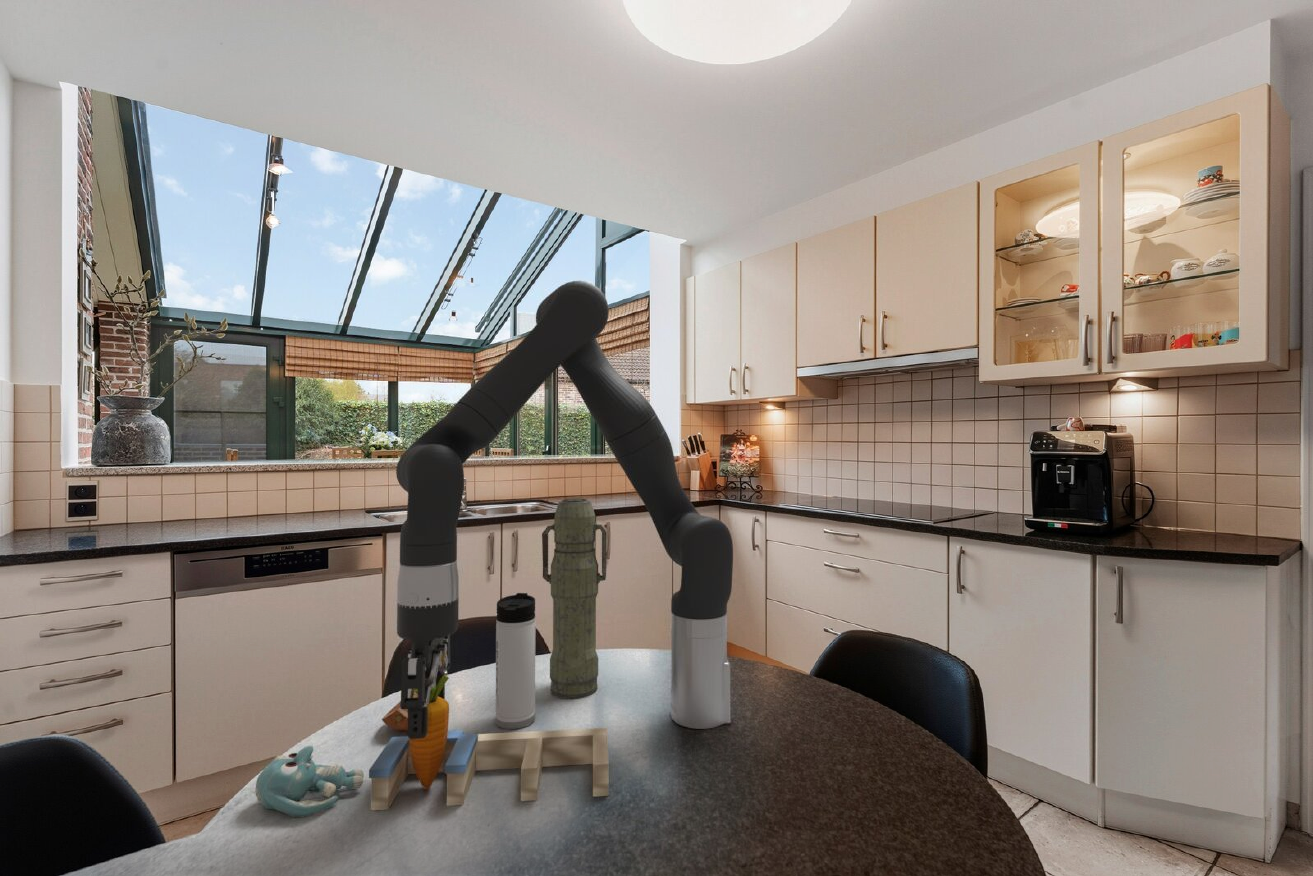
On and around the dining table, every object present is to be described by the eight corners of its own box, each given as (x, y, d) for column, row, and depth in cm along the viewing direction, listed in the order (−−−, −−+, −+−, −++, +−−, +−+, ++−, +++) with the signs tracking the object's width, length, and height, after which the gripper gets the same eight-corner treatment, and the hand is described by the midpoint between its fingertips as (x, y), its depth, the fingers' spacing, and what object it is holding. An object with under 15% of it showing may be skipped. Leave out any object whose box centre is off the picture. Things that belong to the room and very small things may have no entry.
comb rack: (606, 755, 86) (606, 720, 86) (608, 796, 76) (608, 756, 76) (396, 767, 83) (396, 730, 83) (368, 811, 72) (369, 770, 73)
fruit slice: (416, 741, 90) (416, 708, 90) (371, 741, 90) (372, 708, 90) (436, 717, 98) (436, 686, 99) (396, 717, 98) (396, 686, 99)
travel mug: (540, 712, 100) (540, 593, 101) (528, 730, 94) (528, 602, 94) (504, 710, 101) (505, 592, 101) (489, 729, 94) (490, 601, 95)
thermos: (541, 682, 113) (542, 498, 114) (603, 678, 115) (604, 497, 116) (540, 701, 105) (541, 501, 105) (607, 696, 107) (608, 501, 108)
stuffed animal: (368, 765, 73) (255, 767, 68) (355, 826, 72) (239, 832, 68) (372, 728, 83) (273, 727, 78) (360, 782, 82) (260, 784, 78)
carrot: (455, 782, 79) (458, 667, 80) (430, 802, 74) (433, 680, 75) (424, 775, 80) (427, 663, 81) (397, 795, 76) (401, 676, 76)
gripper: (444, 610, 71) (443, 747, 71) (469, 584, 85) (468, 698, 85) (379, 612, 70) (377, 750, 70) (414, 585, 85) (413, 700, 84)
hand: (427, 721), depth 77 cm, fingers open, 8 cm apart
